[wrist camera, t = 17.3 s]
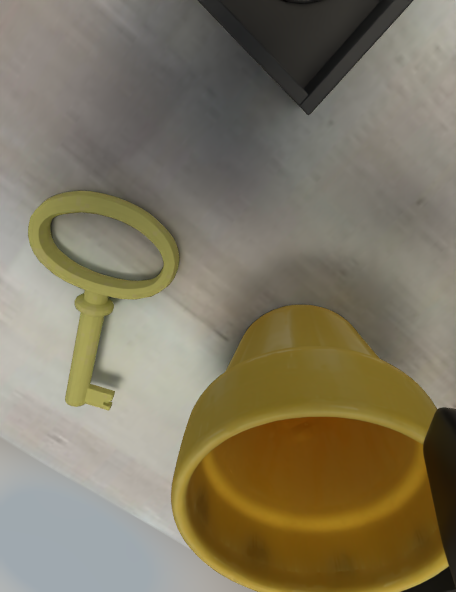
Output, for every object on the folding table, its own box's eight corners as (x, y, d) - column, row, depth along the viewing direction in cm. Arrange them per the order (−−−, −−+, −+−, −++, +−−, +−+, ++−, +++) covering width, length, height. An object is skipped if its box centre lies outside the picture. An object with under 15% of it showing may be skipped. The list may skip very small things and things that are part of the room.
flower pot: (440, 310, 20) (563, 479, 12) (344, 444, 25) (381, 633, 16) (246, 238, 20) (223, 362, 11) (186, 390, 24) (137, 559, 16)
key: (79, 388, 25) (64, 413, 23) (30, 188, 20) (4, 199, 18) (193, 394, 24) (187, 420, 23) (176, 188, 19) (165, 199, 17)
